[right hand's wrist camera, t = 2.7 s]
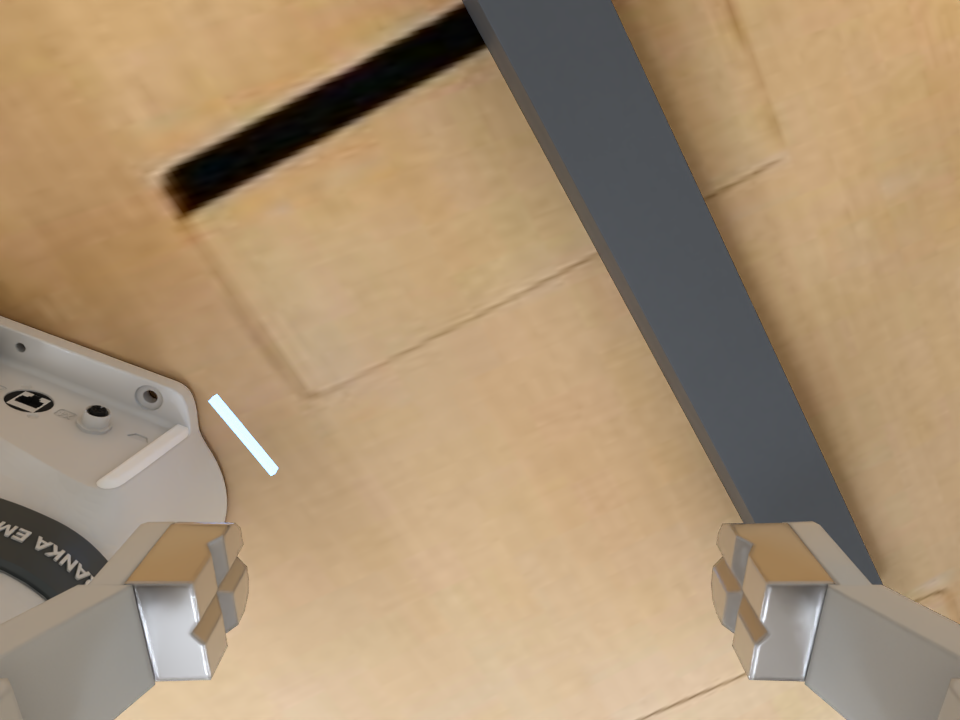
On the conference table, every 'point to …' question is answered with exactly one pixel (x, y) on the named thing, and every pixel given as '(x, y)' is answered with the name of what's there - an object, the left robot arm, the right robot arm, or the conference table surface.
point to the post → (665, 254)
